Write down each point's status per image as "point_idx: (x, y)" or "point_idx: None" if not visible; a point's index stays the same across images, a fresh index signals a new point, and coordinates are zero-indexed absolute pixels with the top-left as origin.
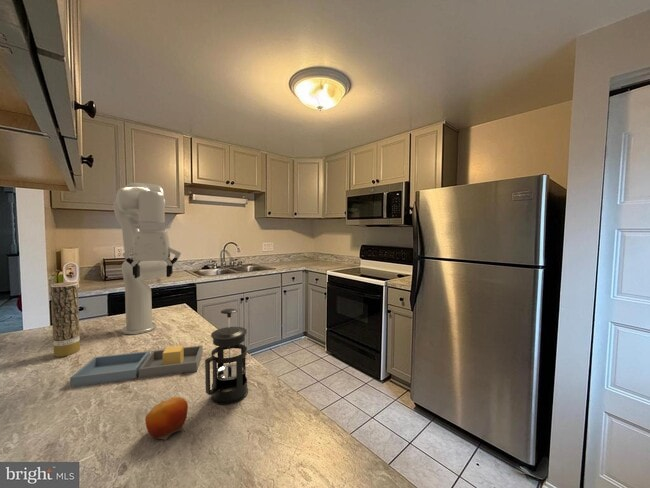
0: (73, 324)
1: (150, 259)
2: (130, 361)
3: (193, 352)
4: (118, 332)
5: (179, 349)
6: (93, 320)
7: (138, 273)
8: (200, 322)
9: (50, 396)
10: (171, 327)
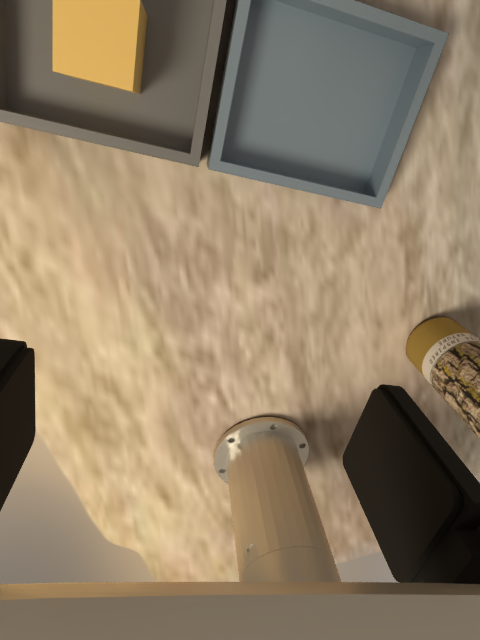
0: (476, 381)
1: (290, 618)
2: (269, 169)
3: (33, 115)
4: (315, 447)
5: (62, 8)
6: (375, 546)
7: (373, 460)
8: (65, 454)
9: (474, 5)
10: (164, 439)
